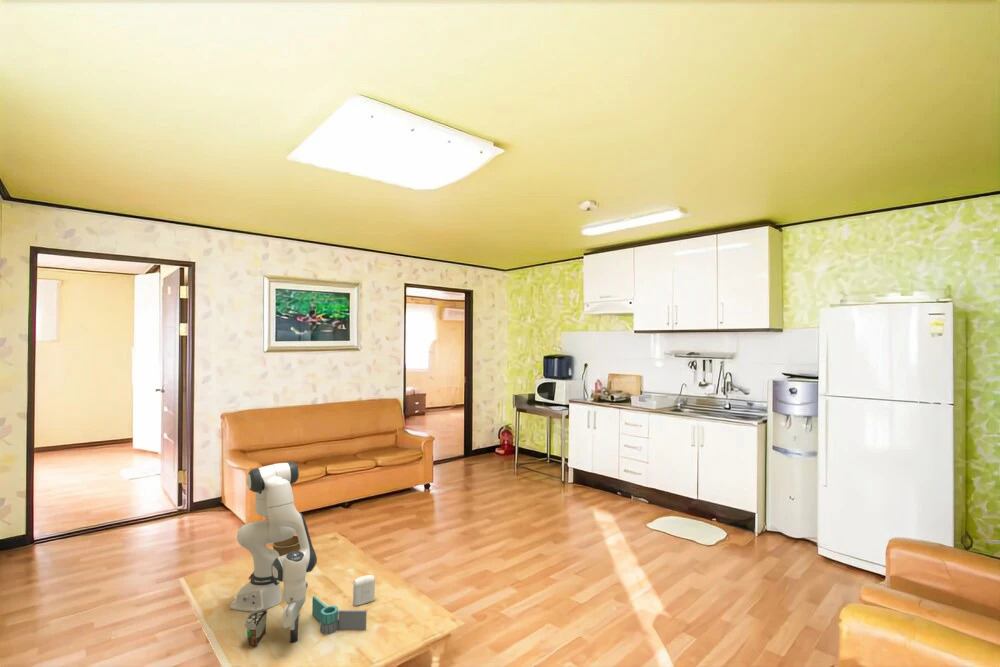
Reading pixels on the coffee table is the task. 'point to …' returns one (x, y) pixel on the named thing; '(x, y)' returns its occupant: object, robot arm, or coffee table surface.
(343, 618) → the frame leaf
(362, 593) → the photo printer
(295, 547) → the plant pot
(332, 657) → the coffee table surface
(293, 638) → the hinge pin
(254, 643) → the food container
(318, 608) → the teal hinge knuckle plate
